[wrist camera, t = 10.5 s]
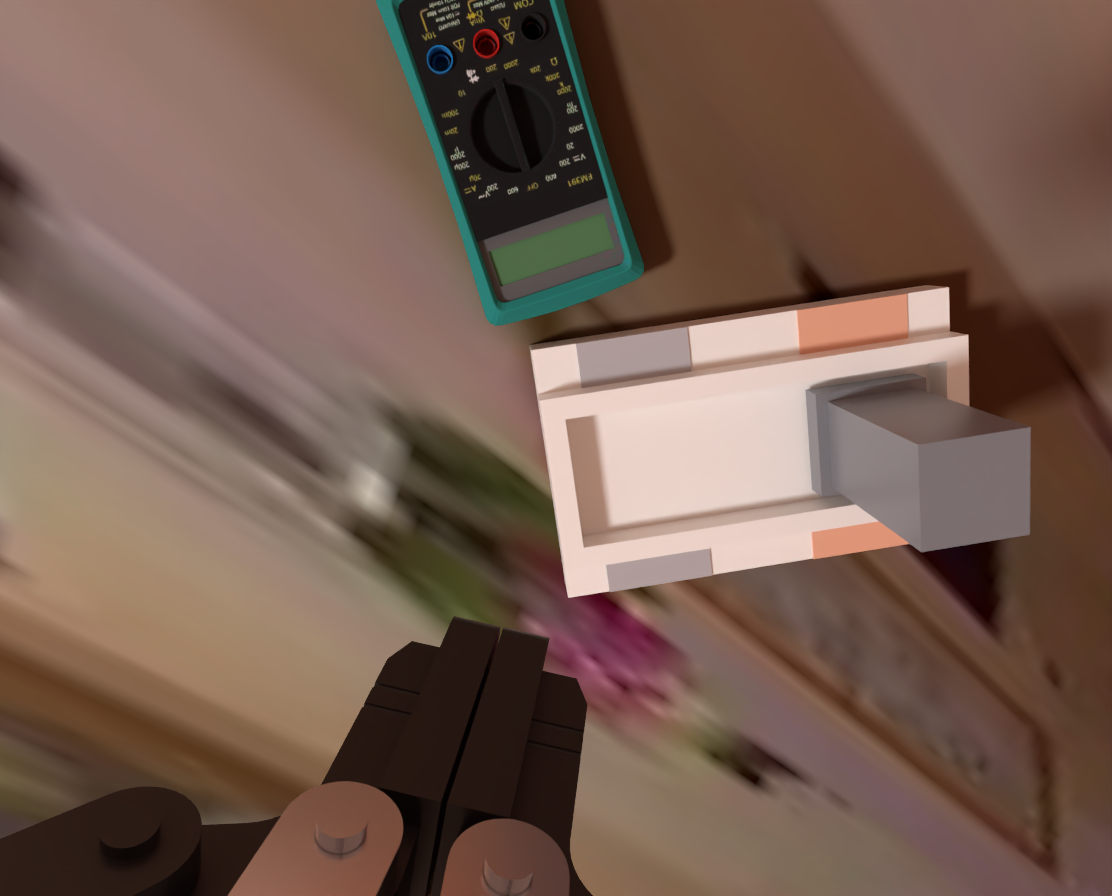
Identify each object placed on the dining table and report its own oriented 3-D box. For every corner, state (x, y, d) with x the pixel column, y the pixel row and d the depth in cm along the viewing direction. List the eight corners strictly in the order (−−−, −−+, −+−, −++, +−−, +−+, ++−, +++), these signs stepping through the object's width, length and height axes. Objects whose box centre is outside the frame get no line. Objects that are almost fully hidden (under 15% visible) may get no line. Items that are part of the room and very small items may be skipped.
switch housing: (529, 345, 38) (532, 354, 34) (926, 285, 38) (967, 288, 35) (564, 581, 41) (570, 611, 37) (932, 522, 41) (971, 546, 38)
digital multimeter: (539, -65, 34) (542, -93, 31) (640, 277, 38) (651, 280, 35) (375, -8, 34) (363, -31, 31) (491, 327, 38) (490, 334, 35)
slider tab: (805, 389, 37) (903, 435, 28) (912, 373, 37) (1044, 413, 28) (812, 489, 38) (908, 564, 29) (915, 473, 38) (1043, 542, 29)
